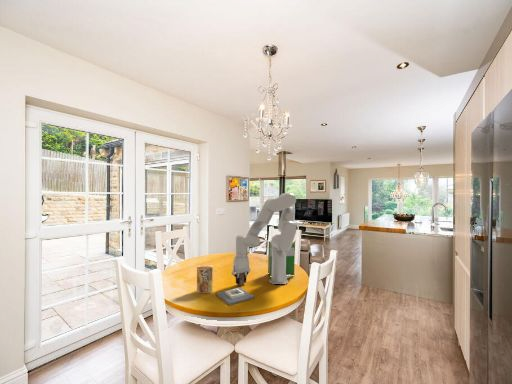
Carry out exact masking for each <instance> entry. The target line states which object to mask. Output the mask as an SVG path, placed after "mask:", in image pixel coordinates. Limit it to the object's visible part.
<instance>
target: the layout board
mask: <svg viewBox="0 0 512 384" xmlns="http://www.w3.org/2000/svg"><path fill="white" fill-rule="evenodd" d="M215 296H216V297H218V298H219V299H221V300H222V301H223V302H225V303H226V304H227V305H228V306H232V305H235V304H239V303H242V302H245V301H249V300H254V299H255V296H254V295H253V294H251V293H249V292H248V291H247V290H245V289H243V288H241V286H238V287H235V288H232V289H230V288H229V289H227V290H223V291H222V290H221V291H218V292H216V293H215Z"/></svg>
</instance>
